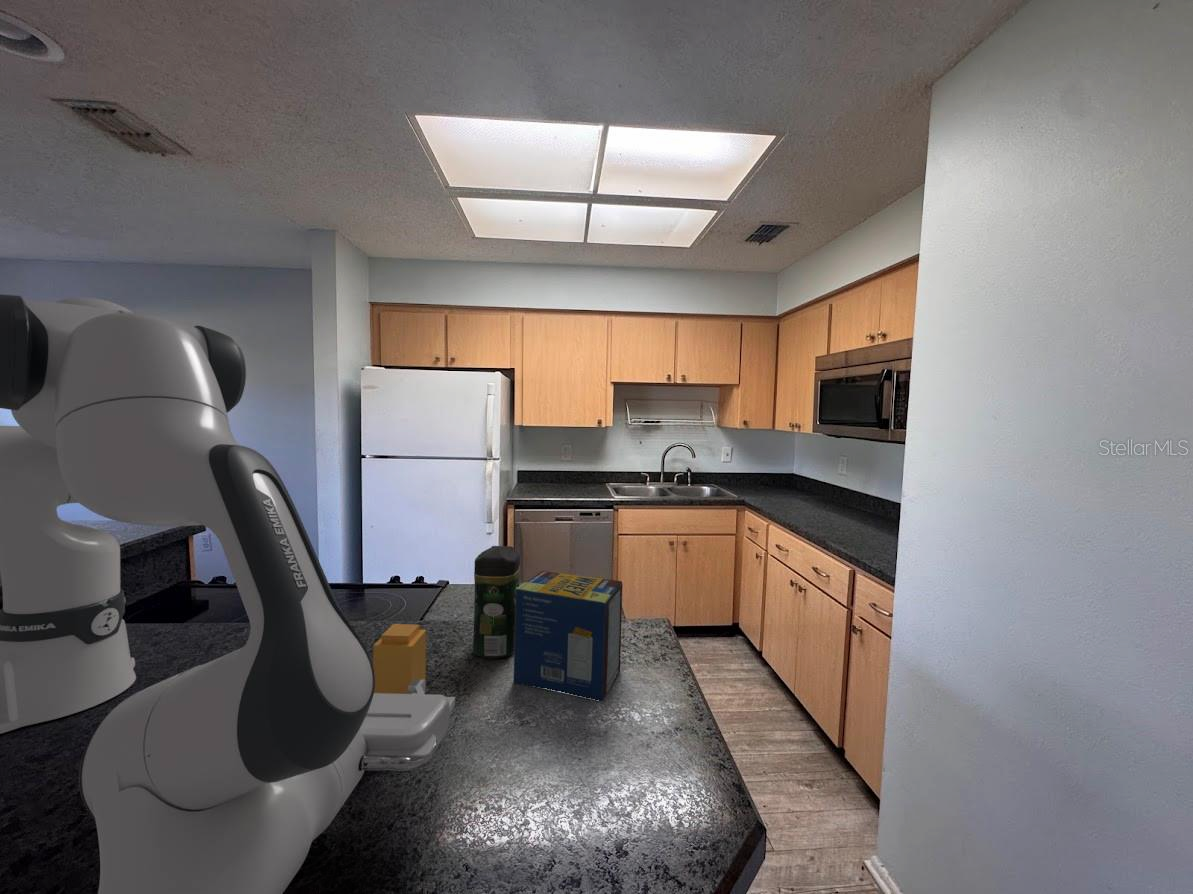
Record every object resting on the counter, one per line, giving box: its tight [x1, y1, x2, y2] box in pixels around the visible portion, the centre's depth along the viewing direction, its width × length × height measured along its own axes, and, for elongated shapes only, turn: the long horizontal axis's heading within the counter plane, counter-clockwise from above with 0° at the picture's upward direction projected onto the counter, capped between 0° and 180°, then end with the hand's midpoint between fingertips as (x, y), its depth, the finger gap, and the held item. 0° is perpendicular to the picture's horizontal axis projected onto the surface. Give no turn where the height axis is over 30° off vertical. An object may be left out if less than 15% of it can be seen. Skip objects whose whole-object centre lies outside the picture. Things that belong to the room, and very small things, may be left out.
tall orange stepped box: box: [372, 623, 427, 694], centre depth 63 cm, size 5×5×12 cm
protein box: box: [513, 570, 623, 701], centre depth 77 cm, size 10×15×16 cm
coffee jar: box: [472, 545, 521, 660], centre depth 86 cm, size 10×8×19 cm
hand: (381, 684), depth 56 cm, fingers open, 8 cm apart
